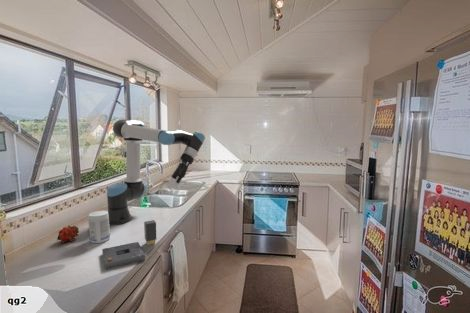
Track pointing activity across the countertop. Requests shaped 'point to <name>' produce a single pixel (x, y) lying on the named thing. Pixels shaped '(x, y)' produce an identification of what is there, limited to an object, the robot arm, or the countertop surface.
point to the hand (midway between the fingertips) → (171, 188)
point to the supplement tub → (99, 226)
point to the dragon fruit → (68, 233)
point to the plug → (150, 232)
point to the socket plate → (122, 255)
